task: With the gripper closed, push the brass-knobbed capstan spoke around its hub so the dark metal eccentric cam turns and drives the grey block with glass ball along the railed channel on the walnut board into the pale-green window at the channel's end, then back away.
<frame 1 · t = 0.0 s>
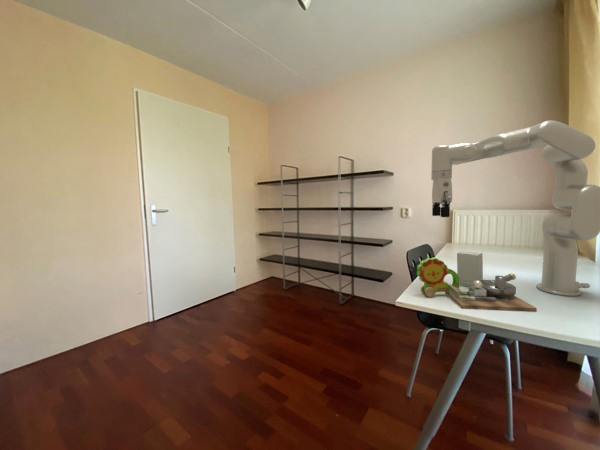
hand: (440, 216, 107), 31 cm above the table, tool pointing down, fingers open, 9 cm apart
toy lion: (437, 295, 101), on the table, touching stand
skincare box: (469, 285, 112), on the table
cam: (497, 283, 97), point 6 cm above the table, hinge at -100.0°
stand: (486, 301, 94), on the table
block with glass ball: (477, 288, 94), point 5 cm above the table, slide at 0.0 cm
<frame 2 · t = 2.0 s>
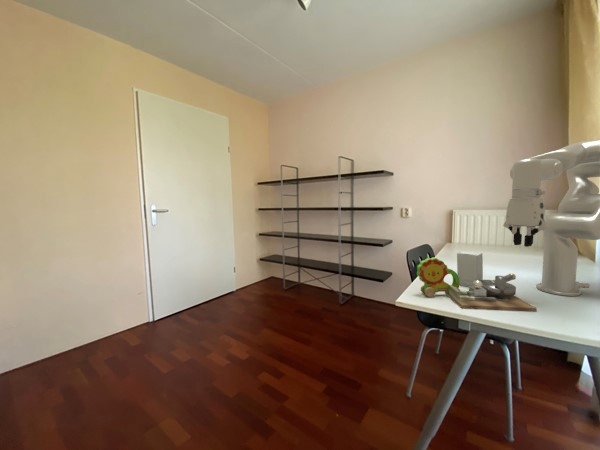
hand: (522, 245, 91), 21 cm above the table, tool pointing down, fingers closed
nothing on the table moved.
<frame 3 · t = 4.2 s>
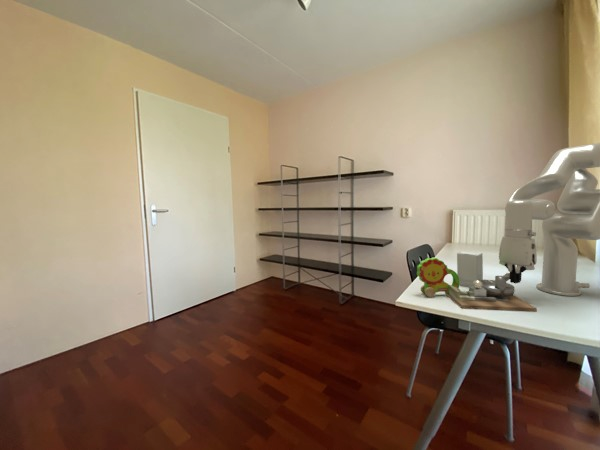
hand: (515, 282, 94), 7 cm above the table, tool pointing down, fingers closed
cam: (496, 283, 97), point 6 cm above the table, hinge at -94.3°, touching gripper
everything else where it was.
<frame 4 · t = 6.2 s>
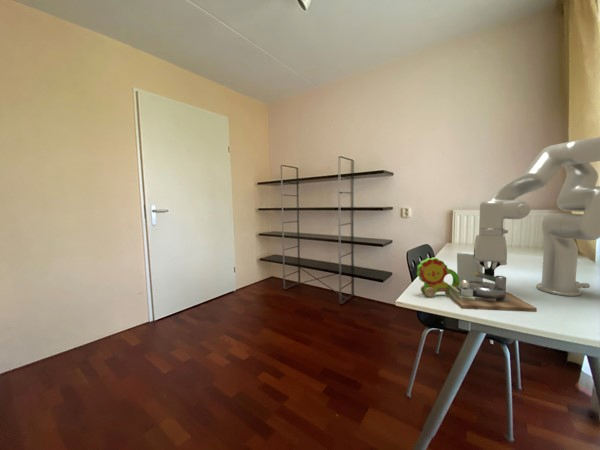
hand: (488, 278, 100), 7 cm above the table, tool pointing down, fingers closed
cam: (485, 284, 96), point 6 cm above the table, hinge at -26.8°, touching gripper
block with glass ball: (464, 288, 95), point 5 cm above the table, slide at 4.4 cm
everything else where it was.
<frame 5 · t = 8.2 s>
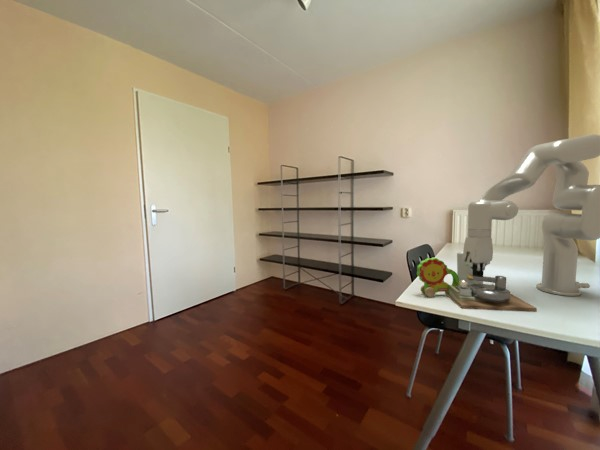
hand: (477, 279, 99), 7 cm above the table, tool pointing down, fingers closed
cam: (488, 287, 93), point 6 cm above the table, hinge at 16.4°, touching gripper
block with glass ball: (463, 288, 95), point 5 cm above the table, slide at 4.9 cm
everything else where it was.
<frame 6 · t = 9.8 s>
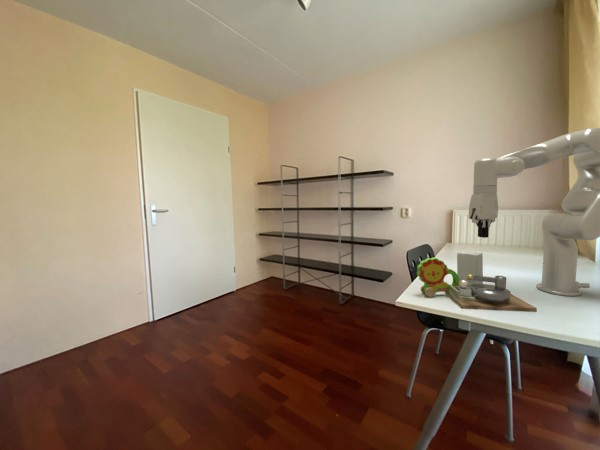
hand: (482, 237, 100), 23 cm above the table, tool pointing down, fingers closed
cam: (488, 287, 93), point 6 cm above the table, hinge at 16.4°
everything else where it was.
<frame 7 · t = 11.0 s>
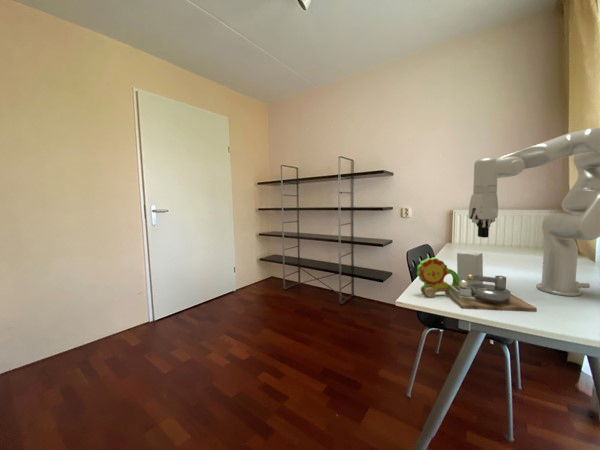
hand: (482, 236, 100), 23 cm above the table, tool pointing down, fingers closed
nothing on the table moved.
at the end: block with glass ball slide at 4.9 cm; cam at +16° (first picture: -100°) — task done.
